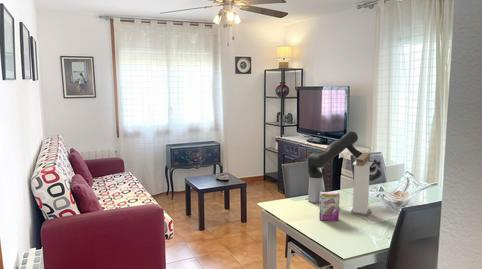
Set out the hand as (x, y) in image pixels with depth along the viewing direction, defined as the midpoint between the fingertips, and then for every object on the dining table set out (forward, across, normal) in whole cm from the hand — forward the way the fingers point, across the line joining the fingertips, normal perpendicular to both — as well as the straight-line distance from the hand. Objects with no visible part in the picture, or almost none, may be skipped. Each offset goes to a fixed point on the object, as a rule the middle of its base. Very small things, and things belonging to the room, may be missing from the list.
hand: (367, 160), depth 240 cm
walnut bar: (+15, 0, +6) cm, 16 cm away
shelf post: (0, 0, +35) cm, 35 cm away
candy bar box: (+18, -14, +46) cm, 51 cm away
